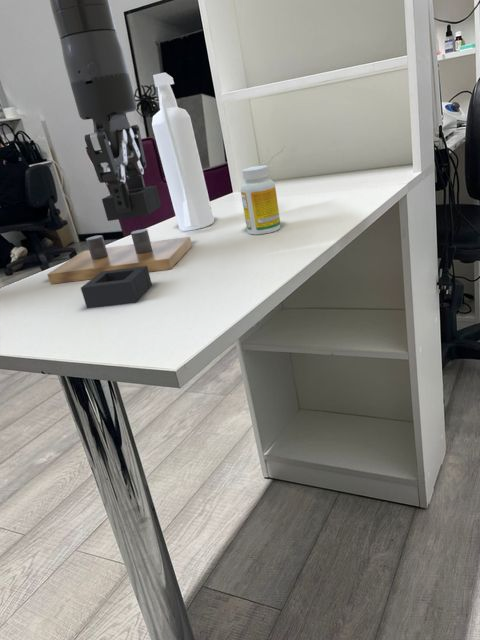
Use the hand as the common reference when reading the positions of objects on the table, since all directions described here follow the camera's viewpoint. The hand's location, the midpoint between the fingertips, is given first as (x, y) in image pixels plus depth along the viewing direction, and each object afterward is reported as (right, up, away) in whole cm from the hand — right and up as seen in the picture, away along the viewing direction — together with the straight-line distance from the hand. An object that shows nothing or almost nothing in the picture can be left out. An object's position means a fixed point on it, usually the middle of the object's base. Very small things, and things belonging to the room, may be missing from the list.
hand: (133, 206), depth 76 cm
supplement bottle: (+19, -1, +9) cm, 21 cm away
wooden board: (-2, -7, +4) cm, 9 cm away
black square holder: (0, -1, 0) cm, 1 cm away
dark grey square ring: (+2, -14, -12) cm, 19 cm away
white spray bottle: (+6, +2, +21) cm, 22 cm away
